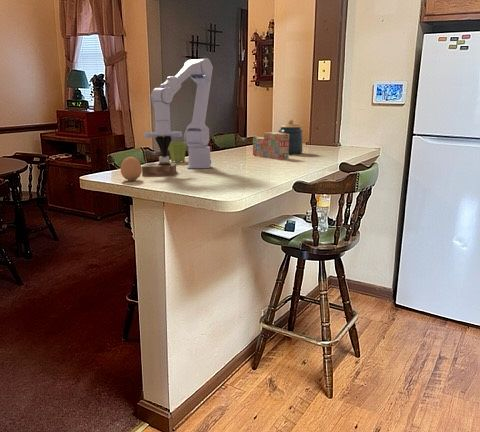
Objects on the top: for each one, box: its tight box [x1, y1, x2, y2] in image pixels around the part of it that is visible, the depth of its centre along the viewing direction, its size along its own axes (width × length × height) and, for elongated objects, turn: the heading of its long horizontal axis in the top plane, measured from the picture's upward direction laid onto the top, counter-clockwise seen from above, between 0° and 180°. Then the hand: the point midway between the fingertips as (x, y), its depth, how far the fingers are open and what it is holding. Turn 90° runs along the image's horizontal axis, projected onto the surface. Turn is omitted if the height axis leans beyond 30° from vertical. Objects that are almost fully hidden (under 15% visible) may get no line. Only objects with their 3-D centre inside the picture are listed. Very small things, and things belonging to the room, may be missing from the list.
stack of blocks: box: [252, 131, 290, 161], centre depth 234 cm, size 21×6×12 cm, turn 35°
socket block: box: [141, 162, 177, 177], centre depth 184 cm, size 12×10×4 cm
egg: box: [120, 156, 142, 182], centre depth 167 cm, size 7×7×8 cm
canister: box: [277, 119, 304, 156], centre depth 249 cm, size 13×13×18 cm
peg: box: [158, 155, 171, 165], centre depth 183 cm, size 4×4×4 cm
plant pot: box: [168, 141, 187, 163], centre depth 218 cm, size 9×9×9 cm
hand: (164, 156), depth 183 cm, fingers closed
